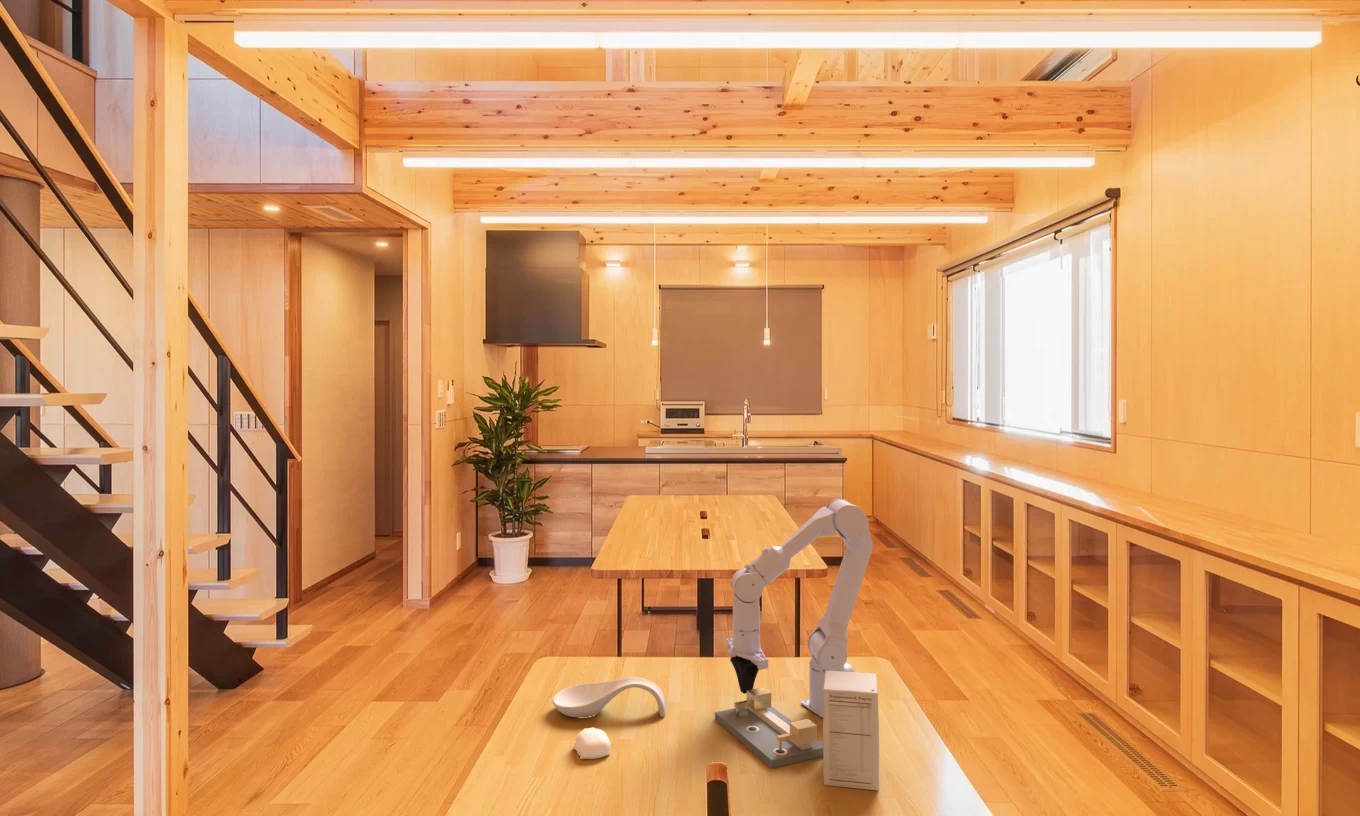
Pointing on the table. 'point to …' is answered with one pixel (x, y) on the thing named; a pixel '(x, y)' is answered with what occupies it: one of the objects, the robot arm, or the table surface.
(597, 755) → the white rounded lump
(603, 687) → the spoon rest
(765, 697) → the sliding trammel head
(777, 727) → the plate
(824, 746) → the supplement box
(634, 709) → the table surface
